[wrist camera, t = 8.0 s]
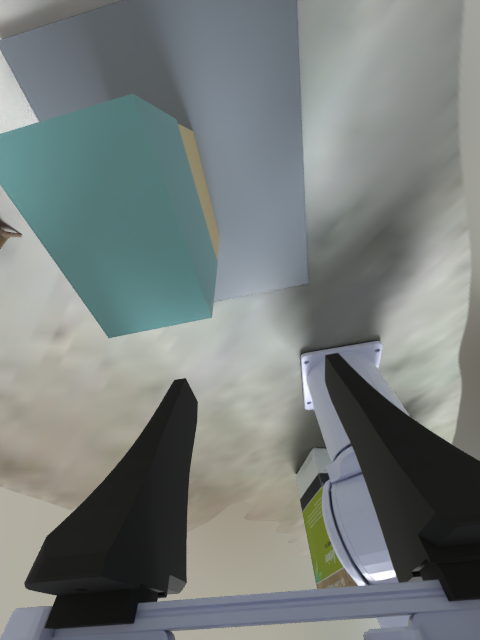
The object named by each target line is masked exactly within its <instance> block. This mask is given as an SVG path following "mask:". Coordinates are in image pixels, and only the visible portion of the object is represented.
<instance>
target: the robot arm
mask: <svg viewBox="0 0 480 640" xmlns="http://www.w3.org/2000/svg"><path fill="white" fill-rule="evenodd" d="M382 348H383V344H382V343H381V342H380V341H373V342H368V343H362V344H356V345H350V346H344V347H338V348H332V349H326V350H320V351H314V352H308V353H304V354H302V355H301V370H302V382H303V395H304V407H305V409H306V410H313V409H314V411H315V414H316V417H317V420H318V423H319V427H320V430H321V433H322V436H323V439H324V442H325V445H326V448H327V451H328V454H329V457H330V459H331V461H332V462H333V463H331V464H329V465H327V466H326V468H327V471H328V475H329V478H330V480H328V481H327V482H326V483H325V484H324V487H323V493H322V513H323V518H324V523H325V527H326V530H327V533H328V536H329V539H330V542H331V544H332V547H333V549H334V551H335V553H336V555H337V557H338V559H339V560H340V562H341V564H342V565H343V567H344V568H345V570H346V571H347V572H348V573H349V575H350V576H351V577H352V578H353V580H354V581H355V582H356V584H357V585H358V586H352V587H339V588H326V589H313V590H301V591H288V592H275V593H263V594H250V595H237V596H224V597H212V598H198V599H187V600H174V601H160V602H157V599H158V598H166V596H167V594H178V593H180V592H181V591H182V589H183V588H184V586H185V585H186V583H187V581H186V580H187V579H186V538H187V505H188V486H189V472H190V464H191V458H192V451H193V445H194V438H195V432H196V425H197V405H198V402H197V400H196V398H195V396H194V394H193V392H192V390H191V388H190V386H189V384H188V382H187V380H186V378H184V379H178V380H174V382H173V383H172V385H171V387H170V388H169V390H168V392H167V393H166V395H165V397H164V398H163V400H162V402H161V403H160V405H159V407H158V408H157V410H156V412H155V413H154V415H153V416H152V418H151V420H150V421H149V423H148V424H147V426H146V427H145V429H144V430H143V431H142V433H141V434H140V436H139V437H138V439H137V440H136V441H135V443H134V444H133V446H132V447H131V448H130V449H129V451H128V452H127V453H126V455H125V456H124V457H123V458H122V460H121V461H120V462H119V463H118V464H117V466H116V467H115V468H114V469H113V470H112V471H111V473H110V474H109V475H108V476H107V477H106V478H105V480H104V481H103V482H102V483H101V484H100V485H99V486H98V487H97V488H96V489H95V490H94V491H93V492H92V493H91V494H90V496H89V497H88V498H87V499H86V500H85V501H84V502H83V503H82V504H81V505H80V506H79V507H78V508H77V509H76V510H75V511H74V512H73V513H71V514H70V515H69V516H68V517H67V518H66V519H65V520H64V521H63V522H62V523H61V524H60V525H59V526H58V527H57V528H55V530H53V531H52V532H51V533H50V534H49V535H48V536H47V537H46V539H45V541H44V543H43V545H42V547H41V550H40V552H39V554H38V556H37V558H36V560H35V562H34V564H33V566H32V568H31V570H30V573H29V575H28V577H27V579H26V581H25V587H26V588H27V589H29V590H33V591H37V592H42V593H47V594H52V595H57V597H56V599H55V602H54V604H53V607H52V606H40V607H28V608H17V609H15V610H14V611H13V613H12V615H11V617H10V619H9V621H8V623H7V626H6V628H5V630H4V632H3V634H2V636H1V638H0V640H175V637H174V634H173V633H172V632H171V631H180V630H195V629H210V628H225V627H241V626H255V625H271V624H285V623H301V622H316V621H331V620H346V619H362V618H377V620H378V622H379V624H380V626H381V628H380V629H370V630H369V631H368V632H365V633H364V635H363V636H364V640H480V461H478V460H477V459H475V458H473V457H472V456H470V455H468V454H466V453H464V452H463V451H461V450H460V449H458V448H456V447H455V446H453V445H452V444H450V443H449V442H447V441H445V440H444V439H442V438H441V437H439V436H438V435H436V434H434V433H433V432H431V431H430V430H428V429H427V428H425V427H424V426H422V425H421V424H419V423H418V422H417V421H415V420H414V419H412V418H411V417H410V415H409V414H408V413H407V411H406V410H405V408H404V407H403V405H402V404H401V402H400V401H399V399H398V398H397V396H396V395H395V393H394V392H393V390H392V389H391V387H390V386H389V384H388V383H387V381H386V380H385V379H384V377H383V376H382V374H381V373H380V371H379V370H378V368H379V363H380V358H381V353H382Z"/></svg>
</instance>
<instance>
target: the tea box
mask: <svg viewBox="0 0 480 640" xmlns="http://www.w3.org/2000/svg"><path fill="white" fill-rule="evenodd" d="M331 463H333V462H332V461H331V459H330V457H329V454H328V451H327V449H325V448H312V450H311V452H310V453H309V455H308V456H307V458H306V460H305V461H304V463H303V465H302V466H301V468H300V470H299V471H298V473H297V475H296V480H297V485H298V491H299V496H300V502H301V507H302V512H303V518H304V523H305V528H306V533H307V538H308V544H309V549H310V554H311V559H312V565H313V570H314V575H315V580H316V585H317V589H326V588H339V587H352V586H358V585H357V584H356V582H355V581H354V580H353V578H352V577H351V576H350V575H349V573H348V572H347V571H346V570H345V568H344V567H343V565H342V564H341V562H340V560H339V559H338V557H337V555H336V553H335V551H334V549H333V547H332V544H331V542H330V539H329V536H328V533H327V530H326V527H325V523H324V518H323V513H322V493H323V487H324V484H325V483H326V482H327V481H328V480H330V478H329V475H328V471H327V468H326V466H327V465H329V464H331Z"/></svg>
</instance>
